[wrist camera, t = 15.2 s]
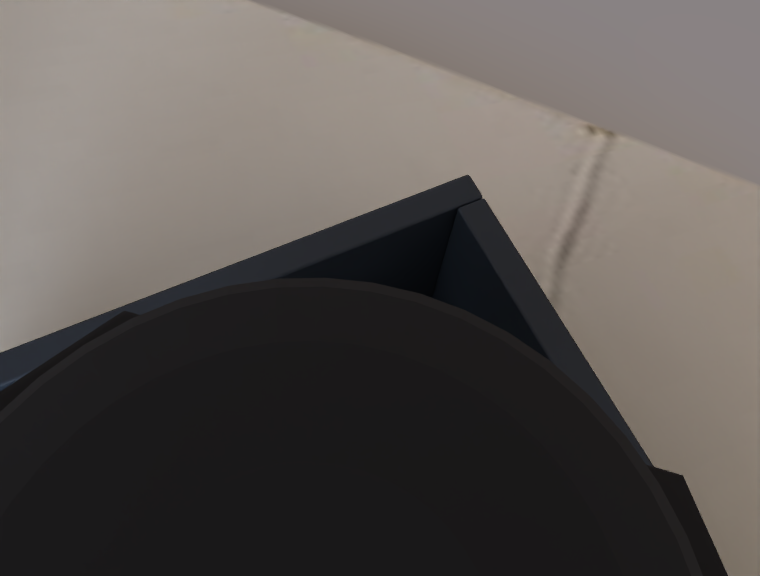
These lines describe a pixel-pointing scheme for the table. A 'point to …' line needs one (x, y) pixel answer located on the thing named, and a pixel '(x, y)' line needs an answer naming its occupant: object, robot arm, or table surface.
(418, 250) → the open box
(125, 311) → the robot arm
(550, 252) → the table surface
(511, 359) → the medicine bottle
